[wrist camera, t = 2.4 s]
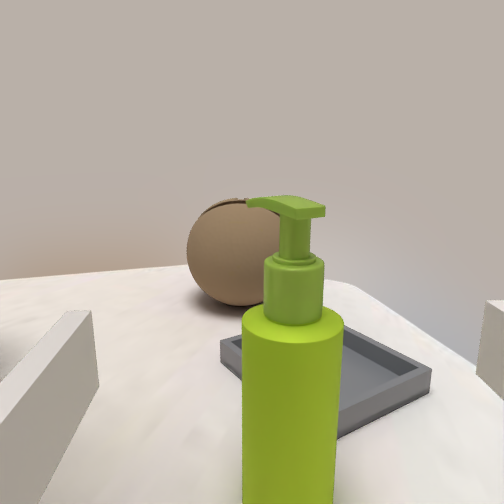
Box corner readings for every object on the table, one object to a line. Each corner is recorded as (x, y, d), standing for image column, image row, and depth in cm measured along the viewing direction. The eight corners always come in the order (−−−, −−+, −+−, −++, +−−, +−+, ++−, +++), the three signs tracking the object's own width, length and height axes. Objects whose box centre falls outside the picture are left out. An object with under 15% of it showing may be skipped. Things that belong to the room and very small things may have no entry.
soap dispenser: (288, 450, 34) (296, 188, 28) (351, 516, 28) (375, 203, 22) (220, 479, 31) (214, 195, 25) (273, 559, 25) (280, 213, 20)
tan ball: (315, 304, 62) (320, 198, 58) (233, 335, 53) (232, 211, 49) (246, 278, 73) (246, 188, 69) (168, 300, 63) (163, 197, 59)
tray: (220, 361, 46) (220, 340, 46) (317, 331, 54) (318, 312, 53) (319, 447, 34) (320, 420, 33) (428, 392, 41) (431, 368, 40)
